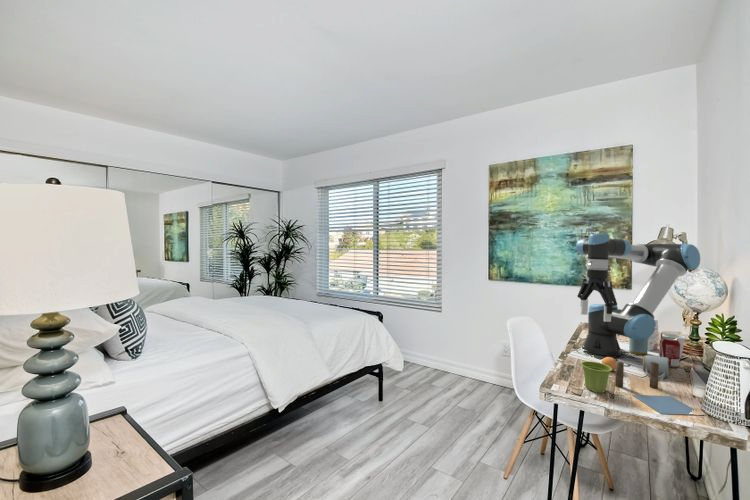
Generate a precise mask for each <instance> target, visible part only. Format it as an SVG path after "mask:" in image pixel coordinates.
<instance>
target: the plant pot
mask: <svg viewBox="0 0 750 500" xmlns="http://www.w3.org/2000/svg"><path fill="white" fill-rule="evenodd" d="M580 365H581V366H582V369H583V376H584V386H585V388H586V389H587V390H589V391H592V392H594V393H605V392H606V390H607V385H608V380H609V375H610V374H611V372H613V371H612V368H611V367H609V366H608V365H605V364H602V362H597V361H589V360H588V361H581V364H580Z"/></svg>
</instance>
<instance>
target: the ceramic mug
mask: <svg viewBox="0 0 750 500" xmlns="http://www.w3.org/2000/svg"><path fill="white" fill-rule="evenodd" d="M650 362H655V363H658V364H659V373H658V381H659V380H663V379H664V378H669V377H670V367H669V359H668V358H667V357H659V356H656V355H648V354H646V355H643V358H642V370H643V373H645V374H646V376H647V377H648V378H650Z"/></svg>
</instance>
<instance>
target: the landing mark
mask: <svg viewBox="0 0 750 500" xmlns="http://www.w3.org/2000/svg"><path fill="white" fill-rule="evenodd" d="M632 397H634V398H636V399H637V400H639V401H640V402H642V403H644V404H645V405H647V406H648V407H650V408H651V409H653V410H654V411H655V412H657V413H659V414H660V415H673V416H674V415H675V416H677V415H676V414H685V415H684V416H691V415H690V414H689V413H690V412H692V410H693V411H694V409H695V408H693V407H691V406H689V404H687V403H684V402H682V401H681V400H678V399H677V398H675V397H674V396H672V395H654V394H653V395H652V394H649V395H648V394H632ZM687 414H689V415H687Z"/></svg>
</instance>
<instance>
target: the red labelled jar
mask: <svg viewBox="0 0 750 500" xmlns="http://www.w3.org/2000/svg"><path fill="white" fill-rule="evenodd" d="M658 352H659V353H658V357H667V358H668V359H669V368H677V367H680V362H681V361H680V360H681V359H680V343H679V342H678V339H677V338H673V337H663V336H661V339H660V340H659V351H658Z"/></svg>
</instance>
